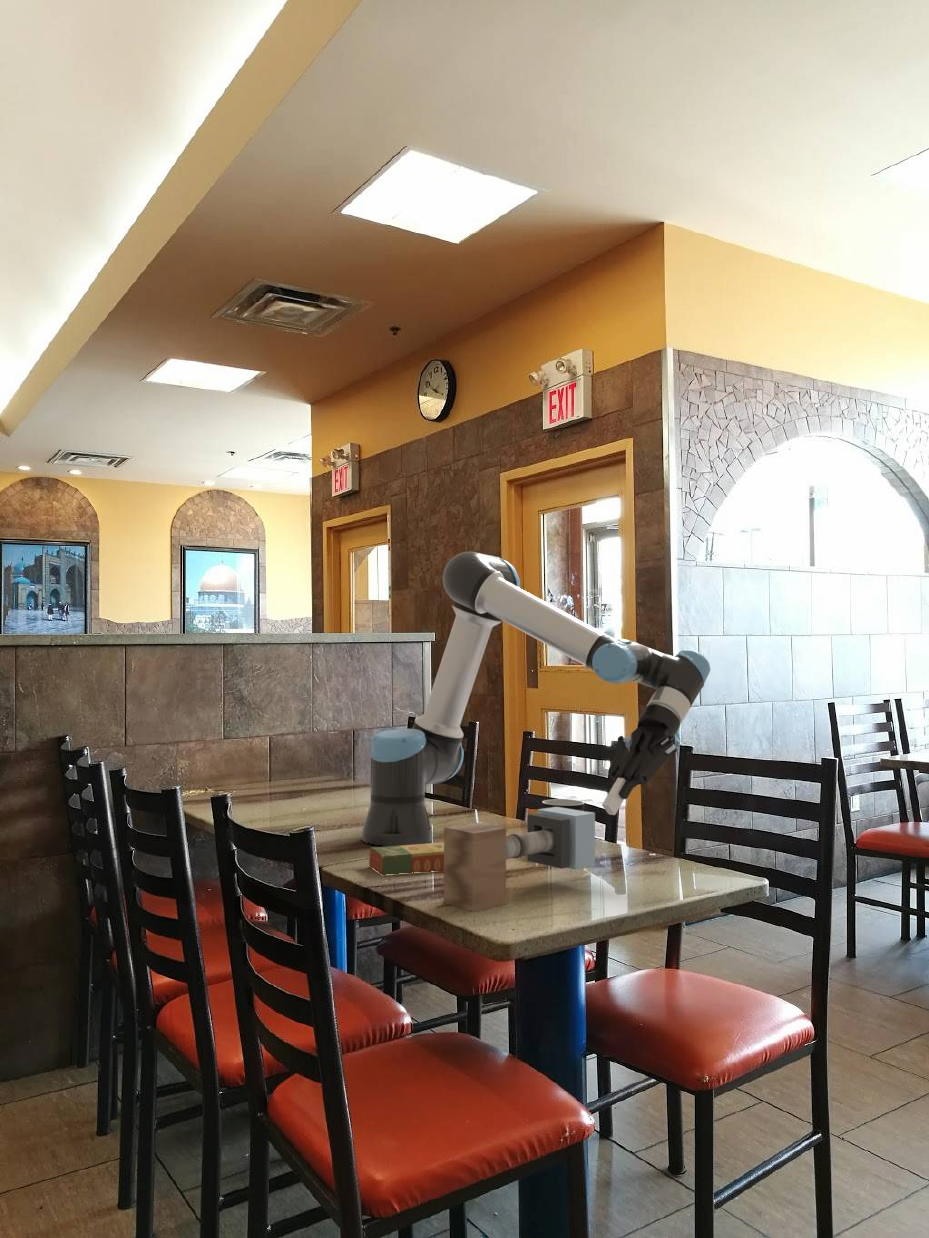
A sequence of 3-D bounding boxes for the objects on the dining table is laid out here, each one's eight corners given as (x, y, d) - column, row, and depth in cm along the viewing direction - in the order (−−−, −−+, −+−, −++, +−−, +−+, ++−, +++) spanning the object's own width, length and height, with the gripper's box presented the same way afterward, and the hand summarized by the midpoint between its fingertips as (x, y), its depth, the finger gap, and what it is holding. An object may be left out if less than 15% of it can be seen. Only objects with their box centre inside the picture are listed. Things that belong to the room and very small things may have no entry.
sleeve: (537, 860, 167) (537, 809, 168) (556, 857, 171) (556, 806, 171) (575, 869, 161) (575, 815, 161) (594, 865, 164) (594, 812, 164)
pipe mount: (443, 902, 152) (444, 827, 152) (569, 875, 171) (570, 808, 172) (473, 911, 146) (473, 833, 147) (599, 882, 166) (599, 813, 167)
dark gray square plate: (527, 860, 165) (527, 814, 165) (535, 859, 166) (535, 813, 167) (561, 868, 159) (561, 820, 159) (569, 866, 160) (569, 819, 161)
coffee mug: (582, 856, 188) (582, 806, 189) (539, 854, 190) (539, 804, 190) (587, 845, 200) (587, 798, 200) (546, 843, 201) (546, 796, 202)
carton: (464, 872, 176) (464, 848, 176) (381, 878, 170) (381, 854, 170) (449, 862, 183) (449, 840, 184) (368, 868, 178) (369, 845, 178)
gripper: (699, 730, 182) (646, 827, 170) (645, 726, 192) (590, 818, 180) (683, 703, 179) (627, 800, 167) (628, 701, 189) (572, 792, 177)
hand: (608, 809), depth 174 cm, fingers closed
